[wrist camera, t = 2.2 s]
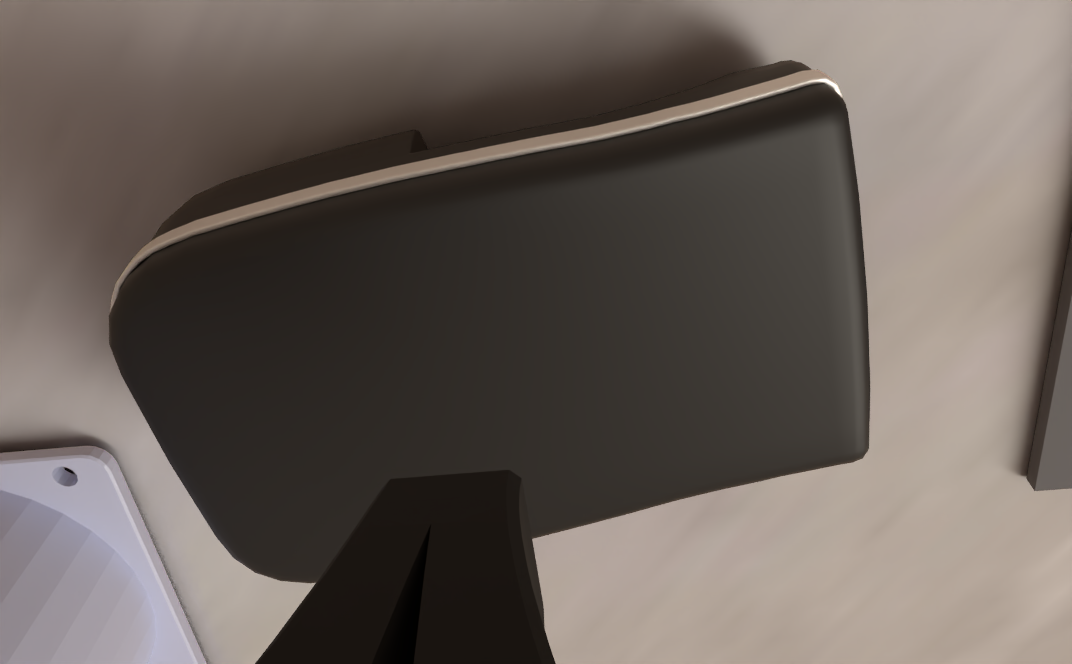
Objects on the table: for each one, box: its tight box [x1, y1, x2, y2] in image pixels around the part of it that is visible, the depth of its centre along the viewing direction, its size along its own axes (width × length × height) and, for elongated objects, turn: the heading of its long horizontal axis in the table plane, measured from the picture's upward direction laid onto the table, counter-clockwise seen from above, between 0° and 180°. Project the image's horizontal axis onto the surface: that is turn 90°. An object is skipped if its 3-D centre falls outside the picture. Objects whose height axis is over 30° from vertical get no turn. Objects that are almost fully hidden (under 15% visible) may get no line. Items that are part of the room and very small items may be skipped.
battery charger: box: [109, 60, 870, 583], centre depth 16 cm, size 7×4×11 cm
